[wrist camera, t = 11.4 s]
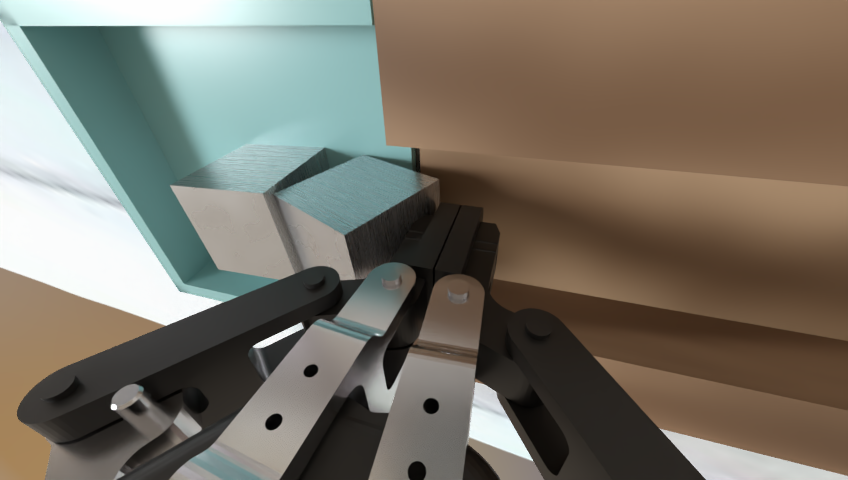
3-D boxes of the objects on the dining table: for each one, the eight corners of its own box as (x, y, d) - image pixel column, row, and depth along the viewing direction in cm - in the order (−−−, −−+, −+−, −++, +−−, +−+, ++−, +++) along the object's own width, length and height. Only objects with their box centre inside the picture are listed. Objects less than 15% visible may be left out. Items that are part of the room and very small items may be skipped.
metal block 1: (246, 144, 15) (169, 185, 12) (324, 147, 14) (262, 193, 11) (276, 219, 17) (218, 269, 14) (344, 226, 16) (298, 282, 13)
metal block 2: (363, 154, 14) (272, 194, 11) (439, 179, 11) (344, 235, 9) (378, 234, 16) (305, 280, 14) (443, 268, 14) (369, 329, 11)
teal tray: (80, -5, 14) (-15, -3, 11) (408, -16, 10) (368, -15, 8) (217, 259, 22) (179, 291, 20) (421, 300, 19) (404, 344, 16)
